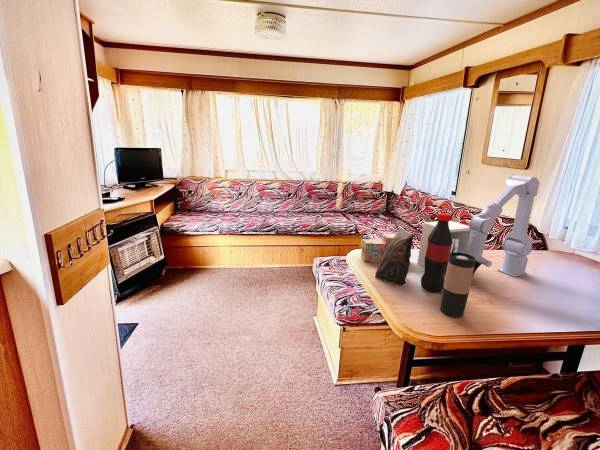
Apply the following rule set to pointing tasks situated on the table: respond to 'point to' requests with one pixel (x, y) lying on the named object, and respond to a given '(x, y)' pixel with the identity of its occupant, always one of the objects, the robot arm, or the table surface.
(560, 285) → the table surface
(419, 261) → the tall white box
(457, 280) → the travel mug
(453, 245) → the metal cup
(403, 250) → the owl
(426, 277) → the cola bottle
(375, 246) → the stack of blocks
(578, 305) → the table surface
